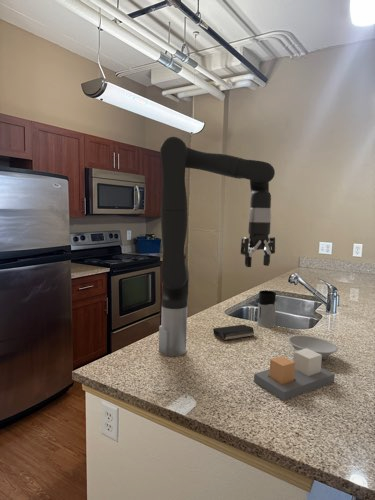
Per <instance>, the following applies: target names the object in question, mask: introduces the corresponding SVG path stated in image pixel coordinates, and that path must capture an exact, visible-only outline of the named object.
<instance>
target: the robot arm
mask: <svg viewBox="0 0 375 500" xmlns="http://www.w3.org/2000/svg"><path fill="white" fill-rule="evenodd" d="M159 155H160V160H161V169H162V171H161V172H162V189H161V197H160V198H161V199H160V202H161V203H160V228H161V239H162V240H161V241H162V262H161V271H160V279H161V282H162V283H163V284H162V285H163V286H162V296H161V319H160V321H161V323H160V324H161V325H159V327H158V351H159V352H160V353H161V354H162V355H164V356H165V357H179V356H183V355H185V354H186V352H187V333H188V331H187V329H188V328H187V325H188V321H187V320H188V299H189V297H188V296H189V279H190V278H189V277H190V274H189V269H188V267H187V265H186V261H185V260H186V259H185V245H186V238H187V232H188V198H187V190H186V178H185V177H186V169H195V170H199V171H205V172H209V173H213V174H217V175H221V176H224V177H229V178H233V179H240V180H241V179H245V180H249V185H250V186H249V188H250V207H249V213H248V232H247V233H248V235H249V237H241V243H240V255H243V256H244V265H245V267H246V268H252V256H253V254H254V253H255V252H256V251H258V250H261V251H262V252H263V254H264V255H263V262H262V263H263V266H265V267H268V266H270V263H271V256H272V254H273V255H274V254H275V253H276V237H275V236H274V237H273V236H269V235H270V234H271V219H272V215H271V214H272V213H271V210H272V209H271V207H272V195H271V192H270V182H271V181H272V180H273V179H274V177H275V173H276V172H275V168H274V167H273V164H271V163H269V162H266V161H263V160H262V161H261V160H255V159H247V158H242V157H238V156H234V155H231V154H230V155H229V154H224V153H218V152H217V153H216V152H215V153H214V152H207V151H205V152H204V151H200V150H196V149H193V148H190V147H188V146H187V145H186V143H185V142H184V141H183V139H181V138H179V137H177V136H170V137H168V138H166V139H165V140H163V142H162V143H161V145H160V148H159Z"/></svg>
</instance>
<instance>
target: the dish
mask: <svg viewBox="0 0 375 500" xmlns="http://www.w3.org/2000/svg"><path fill="white" fill-rule="evenodd" d="M287 342H288V343H289V344H290V345H291V346H292V347H293V348H294V350H295V351H299V350H302V349H306V348H307V349H310V350H312V351H314V352H316V353H319V354H321V355H322V358H325V357H328V356H330V355H332V354H333V353H337V352H338V350H339V347H338V346H337V344H335V343H333V342H331V341H329V340H327V339H324V338H320V337H316V336H312V335H304V334H302V335H301V334H295V335H294V334H293V335H290V336H288V338H287Z"/></svg>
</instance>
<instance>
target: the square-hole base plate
mask: <svg viewBox="0 0 375 500" xmlns="http://www.w3.org/2000/svg"><path fill="white" fill-rule="evenodd" d="M293 355H294V356H293V362H295V372H294V381H293V382H290V383H287V384H284V385H281V384H280V383H278V382H276V381H275V380H273V379H271V378H270V377H269V375H270V368H268V369H266V370H263V371H259V372H256V373H253V374H254V375H253V382H254V383H255V384H257V385H258V386H260V387H262V388H263V389H265V390H266V391H268V392H269V393H271V394H272V395H274V396H275V397H277V398H278V399H280V400H282V401H287V400H290V399H292V398H295V397H297V396H300V395H303V394H306V393H308V392H311V391H313V390H316V389H319V388H321V387H324V386H327V385H329V384H332V383H334V382H335V375H336V374H335V373H333V372H331V371H329V370H327V369H325V368H323V367H322V359H323V357H322V355H321V354H319V353H316V352H314V351H312V350H310V349H307V348H306V349H302V350H299V351H297V350H295V351H294V353H293Z"/></svg>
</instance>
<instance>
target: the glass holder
mask: <svg viewBox="0 0 375 500" xmlns="http://www.w3.org/2000/svg"><path fill="white" fill-rule="evenodd" d="M258 292H259V293H258V302H257V299H256V297H255V295H253V294H249V295H246V299H245V304H246V308H247V310H248V312H249V313H250V314H252V315H253V316H254V317H255V318H256V323H255V324H256V325H257V326H258V327H261V326H262V327H263V328H274V327H273V326H275V327H276V308H277V307H276V306H277V293H276V292H275V291H273V290H259V291H258ZM249 297H253V298H254V303H255V305H257V315H256V314H254V313H253V312H252V311H251V310H250V308H249V306H248V298H249Z"/></svg>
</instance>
